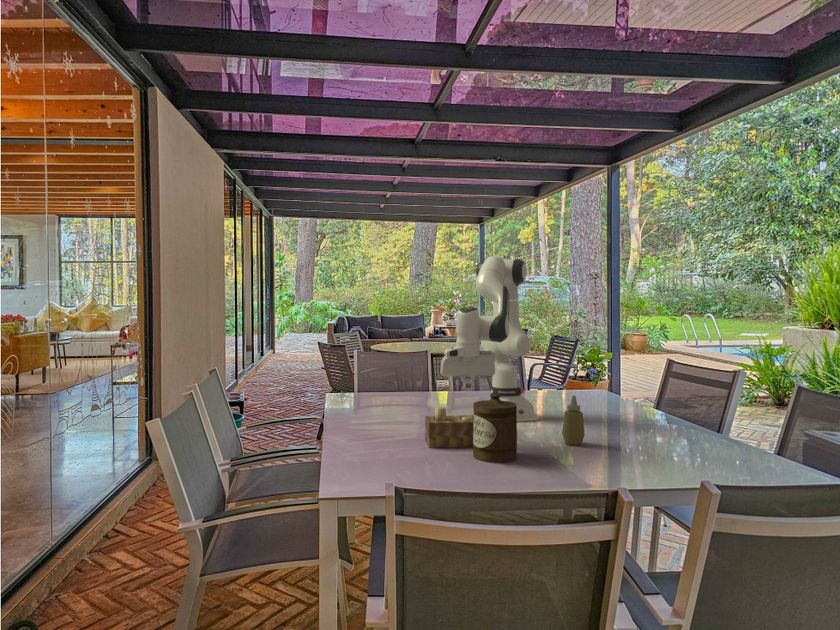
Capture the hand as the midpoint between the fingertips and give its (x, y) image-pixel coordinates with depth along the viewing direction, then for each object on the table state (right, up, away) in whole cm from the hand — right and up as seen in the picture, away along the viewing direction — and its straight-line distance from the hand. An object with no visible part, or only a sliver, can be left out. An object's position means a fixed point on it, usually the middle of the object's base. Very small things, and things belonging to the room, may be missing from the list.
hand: (467, 388), depth 215 cm
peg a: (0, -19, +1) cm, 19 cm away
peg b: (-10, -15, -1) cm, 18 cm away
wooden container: (+8, -21, -18) cm, 29 cm away
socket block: (-5, -20, 0) cm, 21 cm away
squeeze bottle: (+39, -21, 0) cm, 44 cm away
